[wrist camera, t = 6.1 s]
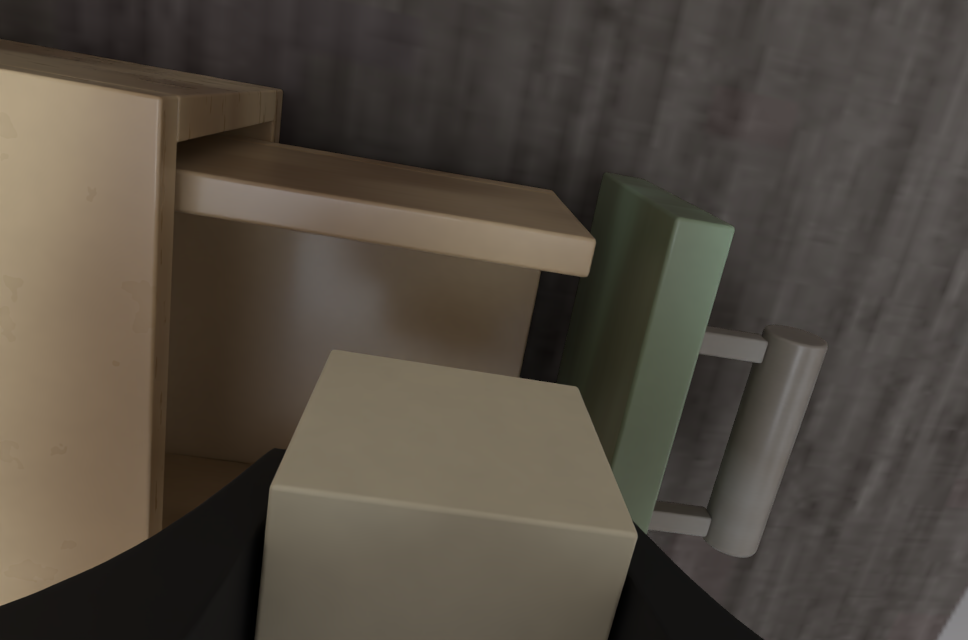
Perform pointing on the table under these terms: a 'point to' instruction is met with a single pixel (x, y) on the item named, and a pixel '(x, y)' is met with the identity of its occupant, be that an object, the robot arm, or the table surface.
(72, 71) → the cabinet
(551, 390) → the block
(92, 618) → the robot arm
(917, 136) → the table surface
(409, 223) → the drawer
